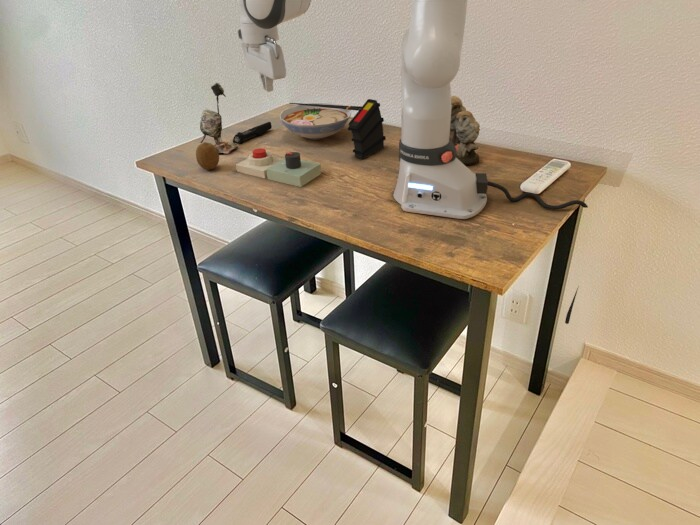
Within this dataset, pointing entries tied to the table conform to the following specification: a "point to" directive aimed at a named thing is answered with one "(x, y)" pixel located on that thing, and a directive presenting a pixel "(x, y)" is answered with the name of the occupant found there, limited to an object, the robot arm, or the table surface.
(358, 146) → the magazine
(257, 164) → the switch box
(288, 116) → the ramen bowl
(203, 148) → the fruit
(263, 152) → the power button
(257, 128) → the electric trimmer
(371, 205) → the table surface
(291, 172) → the dial panel
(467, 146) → the owl figurine
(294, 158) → the dial
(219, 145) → the grey mottled tall figure
